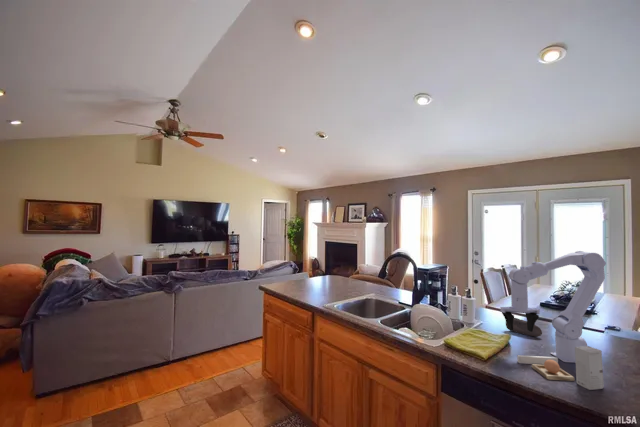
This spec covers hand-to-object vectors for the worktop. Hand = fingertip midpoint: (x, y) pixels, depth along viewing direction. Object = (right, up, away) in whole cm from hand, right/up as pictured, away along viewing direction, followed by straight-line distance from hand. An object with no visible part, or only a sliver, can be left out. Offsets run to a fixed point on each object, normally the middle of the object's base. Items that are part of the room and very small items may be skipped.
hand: (520, 330), depth 120 cm
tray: (-1, -9, -18) cm, 19 cm away
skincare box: (+6, -8, -25) cm, 27 cm away
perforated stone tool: (+17, -11, +22) cm, 30 cm away
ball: (-1, -8, -17) cm, 19 cm away
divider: (0, -9, -10) cm, 13 cm away
